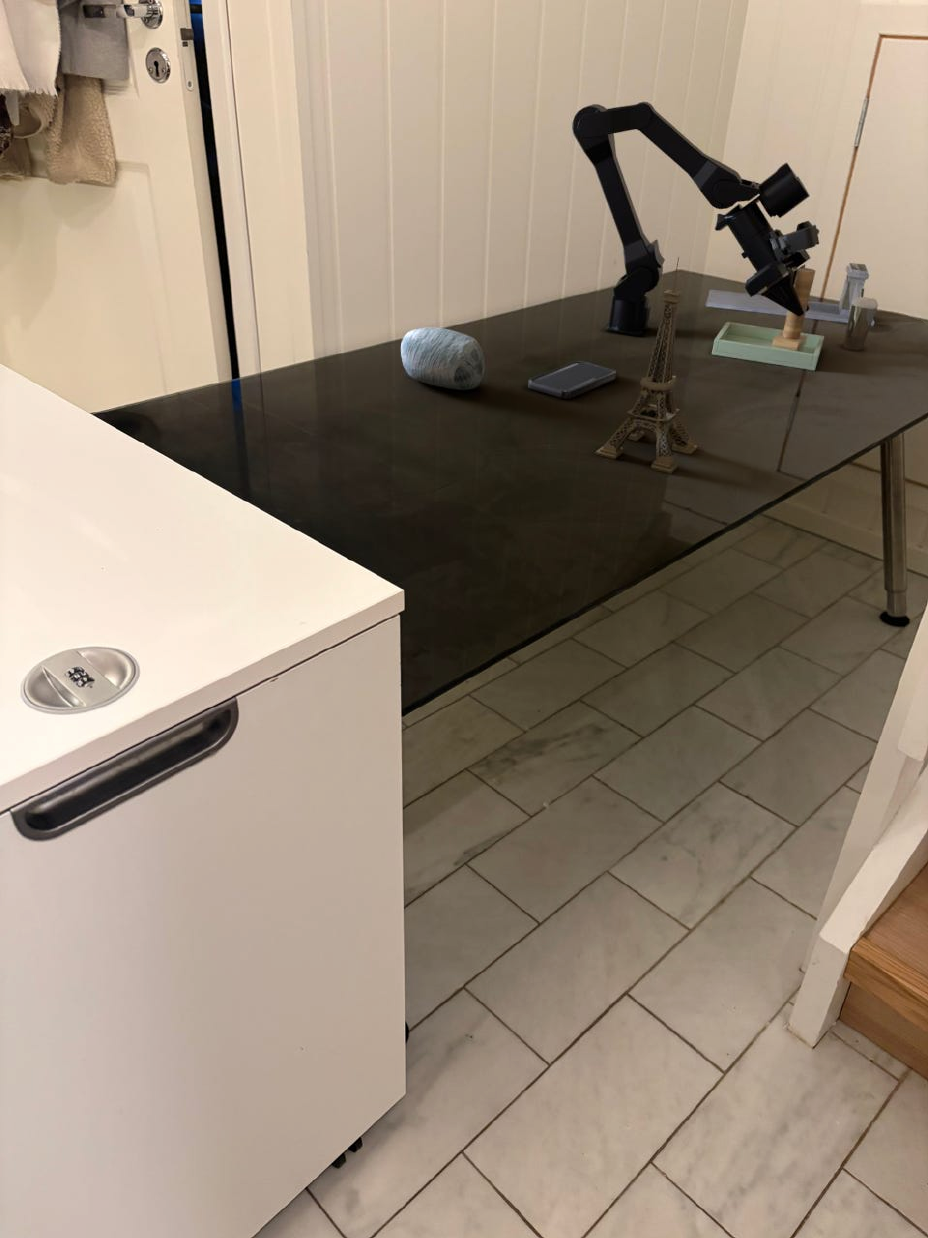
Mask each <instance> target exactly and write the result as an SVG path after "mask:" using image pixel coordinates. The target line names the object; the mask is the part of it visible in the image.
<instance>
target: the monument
mask: <svg viewBox="0 0 928 1238" xmlns="http://www.w3.org/2000/svg"><path fill="white" fill-rule="evenodd" d="M845 272H846V276H845V280H844V284H843V287H842V291H841V295H840V299H839V302H838V303H832V302H825V301H824V302H823V301H816V300H815V301H814V300H809V301H808V305H809V308H810V309H809V310H808V311H807V312H806V313H805V317H804V319H810V320H819V321H827V322H837V323H844V324H848V320H849V314H850V308H851V302H852V300H854V299H855V298H859V297H861V291H862V289H864V287H865V283H866V281H867V280H869V278H870V275H869V270H868V268H867V265H866V264H864V263H855V262H849V264H848V265H846V266H845ZM706 299H707V300H706V303H705V307H709V308H718V309H726V310H734V311H742V312H743V311H744V312H749V313H750V312H752V313H759V314H760V313H761V314H768V315H777V316H783V317H786V316H787V312H788V310H787V309H785V308H784V307H782V306H780V305H779V304H777V303H775V302H773V301H772V300H770V299H768V298H766V297H764V296H761V295H760V294H756V295H754V296H752V297H750V295H749V293H744V292H737V291H736V292H734V291H728V290H727V291H725V290H718V289H709V291H708V295H707V298H706ZM874 325H875V319H874V318H873V320H872V323H871V325H870V327H874Z"/></svg>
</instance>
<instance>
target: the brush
mask: <svg viewBox="0 0 928 1238" xmlns="http://www.w3.org/2000/svg"><path fill="white" fill-rule="evenodd" d="M815 275H816V270H815V269H814V268H808V267H805V268H800V267H798V269H797V272H796V277H795V281H794V286H793V287H794V289H795V291H796V293H797V296H798V298H799V300H800V302H801V305H802V307H803V310H804V314H803V315H801V316H800V317H798V316H797V315H795V314H793V313H792V312H790V311H788V312H787V316H785V322H784V326H783V329H782V330H783V332H782V333H780V334H779V335H777V336H776V337H775V338H774V339H773V343H772V346H773V348H779V349H786V350H792V351H799V352H801V351H802V350H803V348H804V344H806V341H807V337H808V336H807V335H801V333H802V329H803V326H804V322H805V318H804V317H805V313H806V309H807V305H808V301H810V296H811V293H812V292H811V291H812V287H813V284H814V280H815Z"/></svg>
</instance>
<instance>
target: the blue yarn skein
mask: <svg viewBox="0 0 928 1238" xmlns="http://www.w3.org/2000/svg"><path fill="white" fill-rule="evenodd" d="M400 357H401V361H402V365H403V368H404V369H405V371H406V373H407V374H408V376H409V377H411V379H413V380H415V381H418V382H420V383H423V384H427V385H431V386H436V387H440V388H446V389H452V390H458V391H464V390H465V391H466V390H472V389H476V388H477V387H478V386H479V385H480V384H481V383H482V380H483V377H484V375H485V366H486V365H485V356H484V353H483V349H482V346H481V344H479V342H478V341H477V340H476V339H475V338H474V337H473V336H469V335H467V334H464V333H462V332H459V331H456V330H453V329H448V328H443V327H435V326H434V327H433V326H427V327H424V326H423V327H419V328H415V329H411V330H409V331H408V332H407V333H406V334H405V335H404V336H403V338H402V340H401V345H400Z"/></svg>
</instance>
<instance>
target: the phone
mask: <svg viewBox="0 0 928 1238" xmlns="http://www.w3.org/2000/svg"><path fill="white" fill-rule="evenodd" d="M616 376H617V370H615V369H612V368H609V367H606V366H602V365H598V364H594V363H591V362H587V361H583V360H574V361H573V362H570V363H568V364H564V365H562V366H560V367H557V368H554V369H551V370H549V371H547V372H544V373H541V374H539V375H536V376H534V377H531V378H529V379H528V383H527V387H528V389H530V390H533V391H537V392H539V393H543V394H546V395H550V396H553V397H557V398H561V399H564V400H566V399H567V400H568V399H572V398H575V397H577V396H579V395H582V394H584V393H586V392H588V391H589V392H590V390H593V389H595V388H598V387H600V386H602V385H605V384H607V383H609V382H612V381H614V380H616V378H617V377H616Z"/></svg>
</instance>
